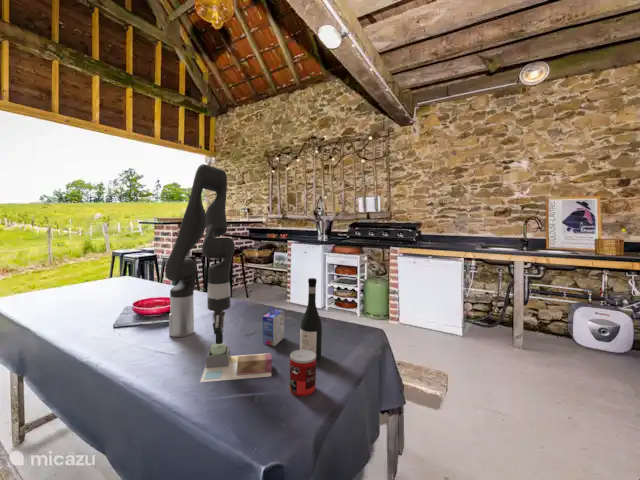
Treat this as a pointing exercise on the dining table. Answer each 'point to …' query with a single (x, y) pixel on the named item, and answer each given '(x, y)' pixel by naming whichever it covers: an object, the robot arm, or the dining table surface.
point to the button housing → (218, 359)
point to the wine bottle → (311, 324)
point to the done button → (218, 349)
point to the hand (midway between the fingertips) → (219, 343)
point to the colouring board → (230, 372)
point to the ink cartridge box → (273, 327)
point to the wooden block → (254, 363)
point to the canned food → (302, 372)
